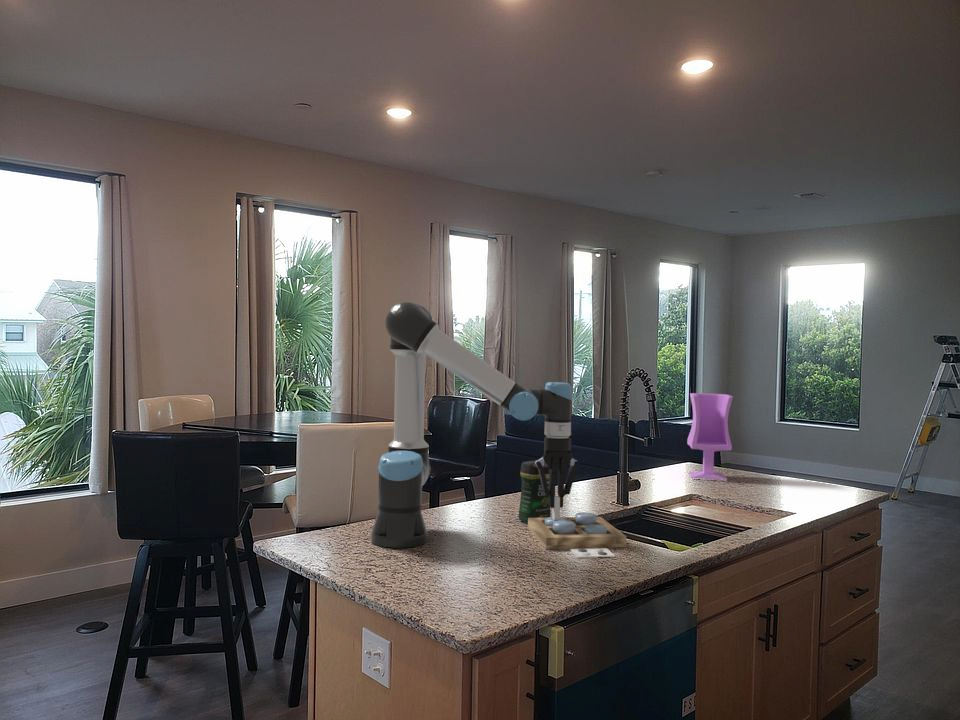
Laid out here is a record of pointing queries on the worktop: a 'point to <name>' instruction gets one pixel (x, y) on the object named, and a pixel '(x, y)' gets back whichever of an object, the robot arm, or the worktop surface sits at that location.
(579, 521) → the button
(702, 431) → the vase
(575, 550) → the card
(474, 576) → the worktop surface
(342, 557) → the worktop surface
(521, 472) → the coffee jar
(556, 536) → the board
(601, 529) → the button
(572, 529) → the button
